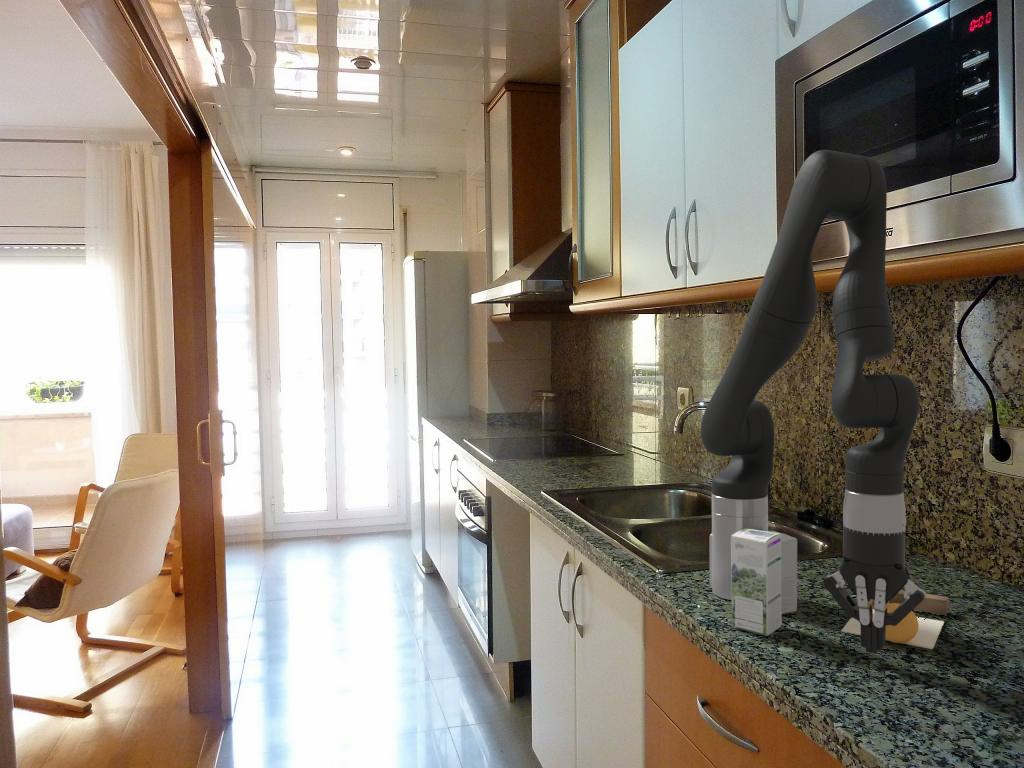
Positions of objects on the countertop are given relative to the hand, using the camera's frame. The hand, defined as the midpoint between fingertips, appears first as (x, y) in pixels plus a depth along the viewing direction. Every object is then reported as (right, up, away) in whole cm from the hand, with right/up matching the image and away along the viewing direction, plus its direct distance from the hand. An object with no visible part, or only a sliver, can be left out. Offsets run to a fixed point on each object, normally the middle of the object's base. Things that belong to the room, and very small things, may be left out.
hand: (873, 651), depth 104 cm
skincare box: (-6, -1, +22) cm, 22 cm away
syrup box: (-11, -1, +13) cm, 18 cm away
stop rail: (+15, 0, +20) cm, 25 cm away
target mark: (+9, -1, +12) cm, 15 cm away
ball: (+6, +2, +7) cm, 9 cm away
